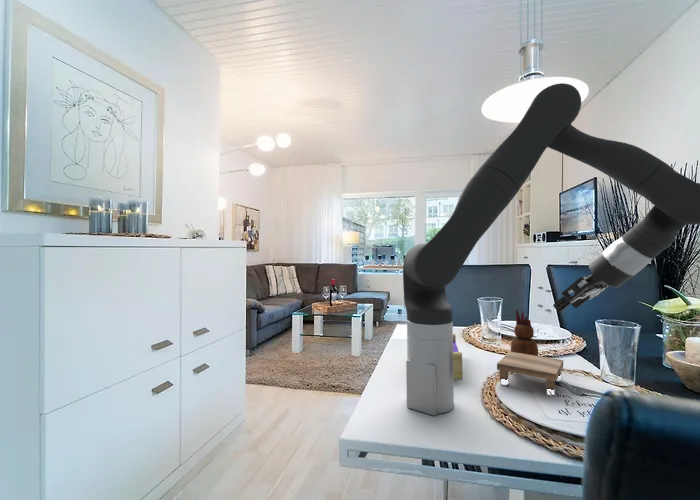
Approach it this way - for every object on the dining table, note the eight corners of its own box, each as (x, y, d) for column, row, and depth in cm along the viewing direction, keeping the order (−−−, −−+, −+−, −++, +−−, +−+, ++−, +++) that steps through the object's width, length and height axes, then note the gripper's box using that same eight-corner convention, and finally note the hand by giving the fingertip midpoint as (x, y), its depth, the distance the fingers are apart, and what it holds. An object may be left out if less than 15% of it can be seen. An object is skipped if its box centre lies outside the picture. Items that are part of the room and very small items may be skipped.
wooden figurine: (506, 362, 97) (505, 309, 97) (523, 360, 98) (522, 308, 99) (525, 370, 90) (524, 313, 90) (542, 367, 92) (542, 312, 92)
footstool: (556, 397, 73) (555, 374, 73) (497, 384, 81) (496, 363, 81) (563, 380, 83) (563, 360, 83) (510, 370, 90) (509, 351, 90)
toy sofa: (463, 381, 84) (462, 339, 84) (427, 378, 86) (426, 337, 86) (456, 355, 104) (455, 322, 104) (427, 354, 106) (426, 321, 106)
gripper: (617, 250, 82) (567, 293, 92) (591, 250, 74) (539, 297, 84) (646, 273, 78) (589, 316, 87) (621, 275, 70) (562, 322, 79)
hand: (565, 307), depth 86 cm, fingers open, 8 cm apart
